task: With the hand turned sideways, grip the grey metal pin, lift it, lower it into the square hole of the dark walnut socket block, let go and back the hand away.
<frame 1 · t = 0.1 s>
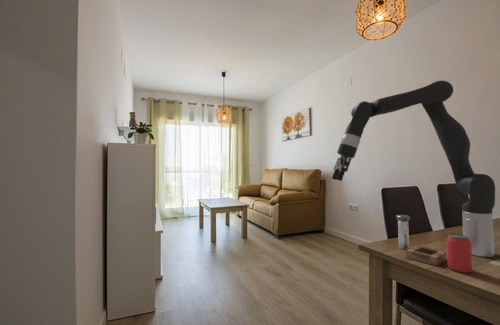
hand: (336, 179, 107), 31 cm above the table, tool tilted 20°, fingers open, 8 cm apart
pin: (403, 248, 108), on the table
socket block: (426, 258, 95), on the table
beer can: (459, 270, 85), on the table
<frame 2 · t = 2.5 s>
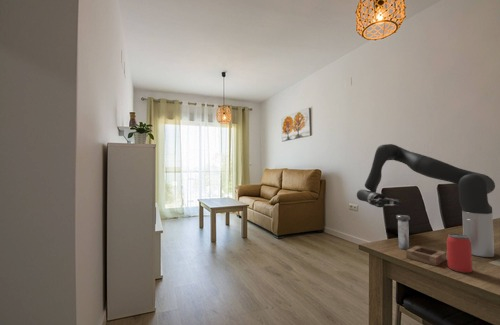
hand: (390, 204, 119), 18 cm above the table, tool horizontal, fingers open, 8 cm apart
nothing on the table moved.
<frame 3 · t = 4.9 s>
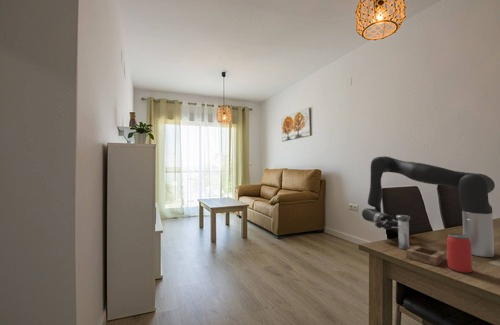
hand: (398, 227, 112), 8 cm above the table, tool horizontal, fingers open, 8 cm apart
nothing on the table moved.
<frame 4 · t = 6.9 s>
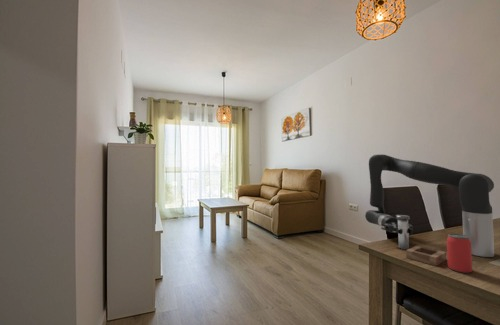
hand: (406, 231, 105), 8 cm above the table, tool horizontal, fingers closed on pin, 4 cm apart
pin: (403, 248, 108), on the table, touching gripper
everything else where it was.
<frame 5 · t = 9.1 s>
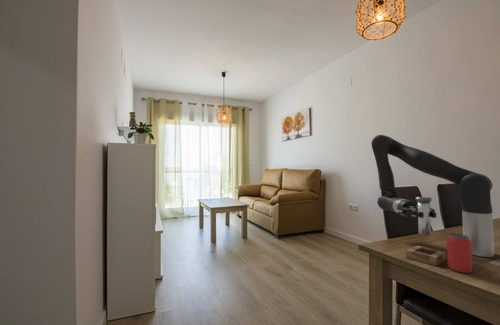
hand: (428, 215, 93), 18 cm above the table, tool horizontal, fingers closed on pin, 4 cm apart
pin: (424, 233, 95), point 10 cm above the table, touching gripper
everything else where it was.
when the fingers open (9 cm above the table, at t = 11.5 s): pin stays where it is, resting in socket block.
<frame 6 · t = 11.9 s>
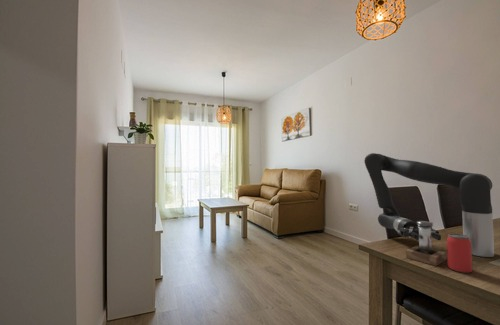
hand: (428, 237, 93), 9 cm above the table, tool horizontal, fingers open, 7 cm apart
pin: (425, 258, 95), resting in socket block
everything else where it was.
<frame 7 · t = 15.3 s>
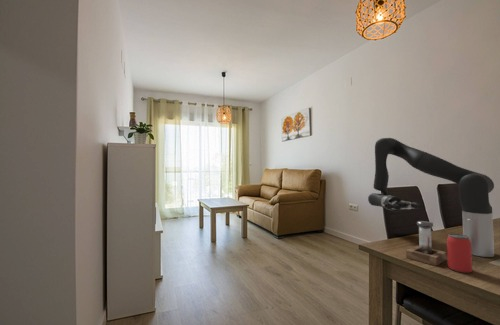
hand: (408, 207, 107), 18 cm above the table, tool horizontal, fingers open, 8 cm apart
nothing on the table moved.
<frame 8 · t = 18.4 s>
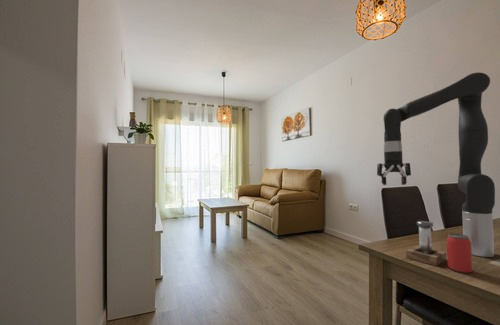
hand: (394, 184, 115), 28 cm above the table, tool pointing down, fingers open, 8 cm apart
nothing on the table moved.
at the end: pin 0.1 cm off-centre on the socket block, point 0.0 cm above the socket block's base; pin tilted 0°; the gripper is holding nothing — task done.
